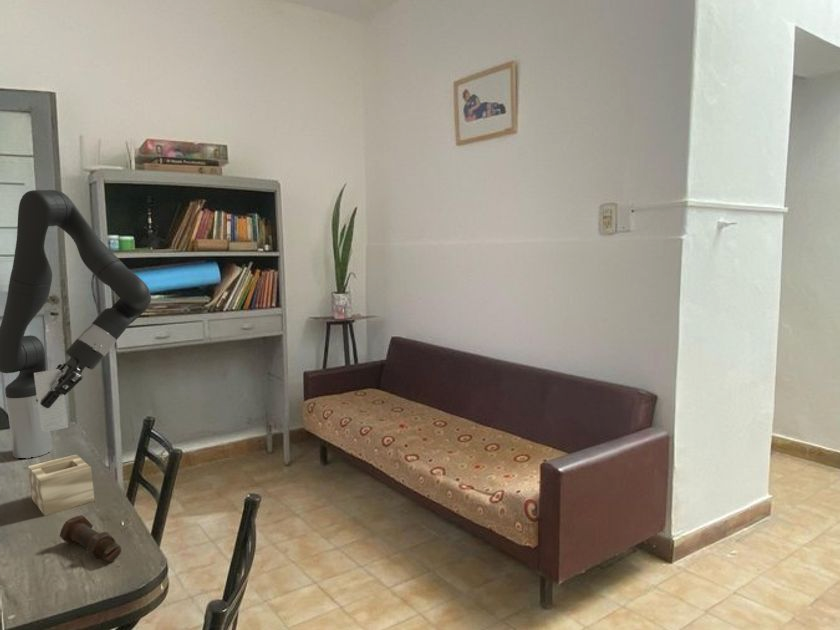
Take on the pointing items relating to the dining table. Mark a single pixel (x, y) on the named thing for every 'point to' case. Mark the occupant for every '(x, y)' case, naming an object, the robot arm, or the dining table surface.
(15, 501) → the dining table surface
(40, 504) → the open beige box
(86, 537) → the bolt
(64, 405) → the tall grey square pillar
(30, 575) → the dining table surface
